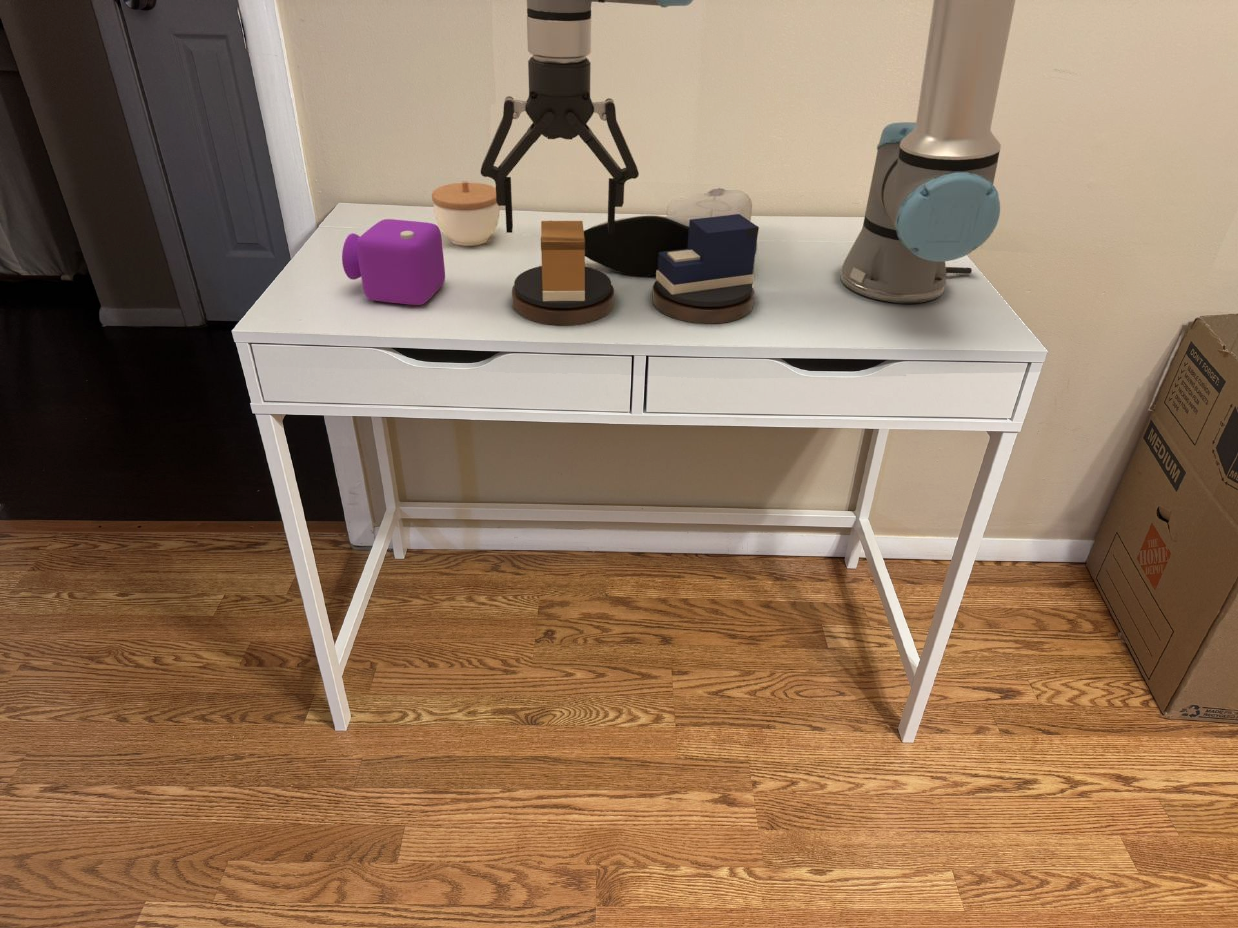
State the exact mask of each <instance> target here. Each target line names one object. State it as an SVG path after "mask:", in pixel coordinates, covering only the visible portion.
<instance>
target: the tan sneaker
mask: <svg viewBox="0 0 1238 928" xmlns="http://www.w3.org/2000/svg"><path fill="white" fill-rule="evenodd" d="M540 251H541V254H540V255H541V265H539V266H535V267H532V268H529V269H527V270H525V271H523V272H521V273H520V274H518V275H517V276H516V277H515V279H514V283H513V286H514V288H515V292H516V294H517V295H518V296H519V297H520V298H521V299H523V300H524V301H527V302H529V303H531V304H535V305H538V306H543V307H549V308H577V307H583V306H588V305H591V304H595V303H597V302H600V301H601V300H603V299H605V298H606V297H607V296H608V295H609V294H610V292H611V284H612V280H611V278H610V277H609V276H608V274H606V273H605V272H603V271H601V270H599V269H597V268H595V267H591V266H588V265H587V266H586V257H585V237H584V222H583V220H541V222H540Z"/></svg>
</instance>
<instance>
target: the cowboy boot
mask: <svg viewBox="0 0 1238 928" xmlns="http://www.w3.org/2000/svg"><path fill="white" fill-rule="evenodd" d="M752 213H753V202H752V199H751V197H750V196H749V194H748V193H747V192H744V191H742V190H736V189H735V190H732V189H731V190H730V189H725V188H721V187H718V188H712V189H711V190H709V191H707V192H705V193H698V194H693V195H689V196H685V197H680V198H677V199H673V200H671V201H670V202H668V204H667V207H666V216H664V215H657V214H656V215H655V214H652V215H651V214H648V215H637V216H629V217H622V218H617V219H616V218H615V227H614V234H613V233H609V232H608V227H607V225H608V220H607V221H603V222H601V223H598V224H595V225H593V226H591V227H589V228H587V229H585V230H584V229H583V230H584V237H585V258H587V259H589V260H591V261H593V262H595V263H596V264H598V265H601V266H602V267H605V268H608V269H610V270H612V271H614V272H618V273H620V274H623V275H626V276H630V277H637V278H646V277H652V276H654V275H655V276H656V271H657V270H658V256H659V252H665V251H673V250H681V249H688V235H689V222H690V219H699V218H708V217H717V216H726V215H734V214H740V215H742V216H743V217H745V218H746V219H747V220H749V221H750V222H752V221H751V220H752ZM757 251H758V243H757V244H756V252H755V255H756V254H757Z"/></svg>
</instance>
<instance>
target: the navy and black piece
mask: <svg viewBox="0 0 1238 928" xmlns="http://www.w3.org/2000/svg"><path fill="white" fill-rule="evenodd" d="M759 229H760V227H759V226H758V225H757V224H754V222H752V221H749V220H747V219H746V218H745V217H743V216H742V215H740V214H734V215H726V216H717V217H708V218H699V219H690V222H689V235H688V249H681V250H673V251H665V252H659V256H658V270H657V271H656V274H655V281H656V286H657V289H658V291H659V292H660V293H661V294H662V295H664V296H665V297H667V298H669V299H671V300H673V301H676V302H679V303H683V304H687V305H692V306H700V307H720V306H728V305H733V304H736V303H739V302H742V301H744V300H745V299H747V298H748V297H749V296H750V294H751V292H752V287H753V284H754V279H755V278H754V277H755V274H754V266H755V261H756V254H755V252H756V244H757V245H758V236H759ZM756 253H757V252H756Z"/></svg>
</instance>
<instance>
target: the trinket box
mask: <svg viewBox="0 0 1238 928" xmlns="http://www.w3.org/2000/svg"><path fill="white" fill-rule="evenodd" d="M431 200H432V203H433V210H434V216H435V220H436V222H437V226H438V227H439V229H440V232H442V233H443V235H445V237H447V238H448V239H450V242H451V243H452V244H454V245H456V246H462V247H476V246H481V245H484V244H485V243H487V242H488V241H489V239H490V237H491V236H492V235H493V234H494V233H495V231H496V229H497V227H498V224H499V220H500V212H501V209H500V207H501V206H498V204H497V202H496V186H493V185H491V184H485V183H481V182H480V183H479V182H469V181H467V180H465V181H462V182H456V183H449V184H445V185H442V186H440V187H437V188H435V189H434V190H433V191H432V193H431Z"/></svg>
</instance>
